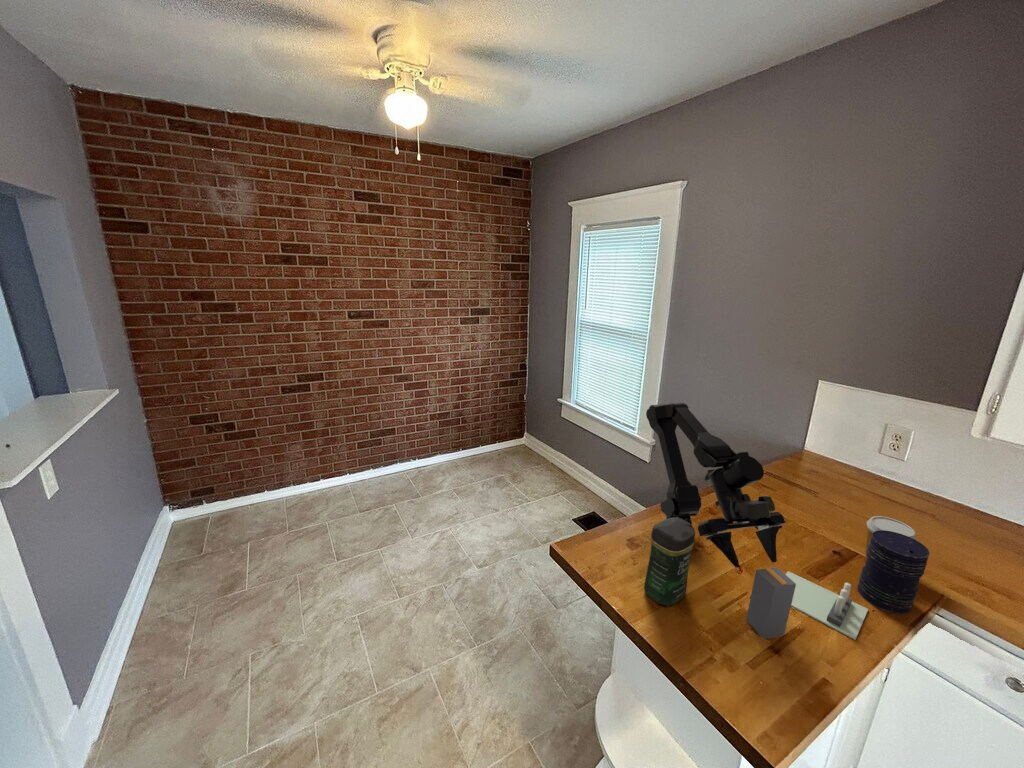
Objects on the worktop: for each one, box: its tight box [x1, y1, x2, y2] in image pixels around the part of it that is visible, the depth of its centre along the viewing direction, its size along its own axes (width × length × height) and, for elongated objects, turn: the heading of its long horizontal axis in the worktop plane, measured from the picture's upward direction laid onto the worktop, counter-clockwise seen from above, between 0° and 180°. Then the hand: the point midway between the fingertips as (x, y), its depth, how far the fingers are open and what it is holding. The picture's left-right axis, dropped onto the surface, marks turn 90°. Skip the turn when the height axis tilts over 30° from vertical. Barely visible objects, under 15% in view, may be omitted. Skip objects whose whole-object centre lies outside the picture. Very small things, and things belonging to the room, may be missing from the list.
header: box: [784, 570, 869, 641], centre depth 96 cm, size 16×12×6 cm
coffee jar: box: [643, 517, 696, 607], centre depth 96 cm, size 10×8×19 cm
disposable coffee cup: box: [864, 515, 918, 564], centre depth 107 cm, size 10×10×12 cm
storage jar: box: [857, 530, 930, 615], centre depth 96 cm, size 10×10×15 cm
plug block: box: [745, 566, 796, 640], centre depth 88 cm, size 5×5×13 cm
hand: (756, 564), depth 91 cm, fingers open, 9 cm apart
